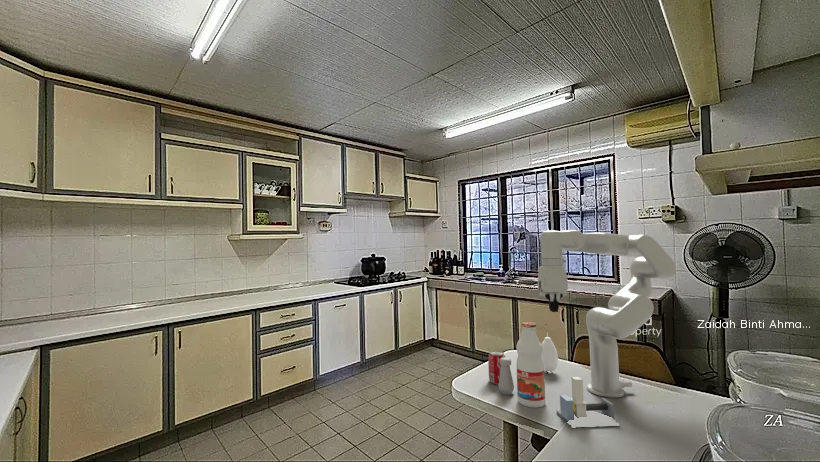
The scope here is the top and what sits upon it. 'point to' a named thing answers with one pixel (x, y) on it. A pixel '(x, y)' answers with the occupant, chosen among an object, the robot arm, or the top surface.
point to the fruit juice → (530, 368)
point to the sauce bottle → (549, 355)
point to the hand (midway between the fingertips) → (553, 311)
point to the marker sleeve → (578, 397)
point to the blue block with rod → (569, 408)
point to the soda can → (495, 366)
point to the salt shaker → (505, 377)
